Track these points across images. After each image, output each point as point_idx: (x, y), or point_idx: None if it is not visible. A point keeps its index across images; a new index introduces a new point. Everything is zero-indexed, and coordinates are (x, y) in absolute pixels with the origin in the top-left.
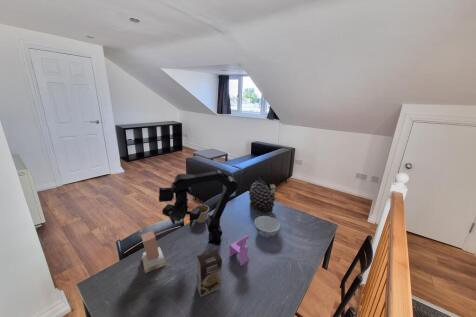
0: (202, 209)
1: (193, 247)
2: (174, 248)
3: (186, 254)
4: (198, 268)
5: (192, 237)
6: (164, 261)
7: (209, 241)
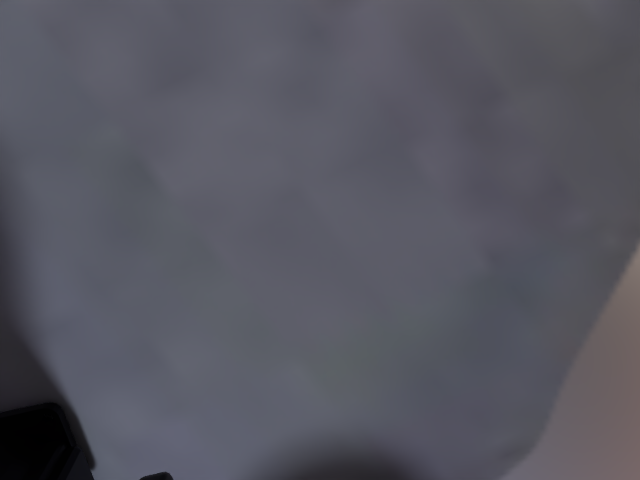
0: None
1: (194, 256)
2: (419, 126)
3: (198, 106)
4: None
5: (317, 393)
6: None
7: (54, 430)
